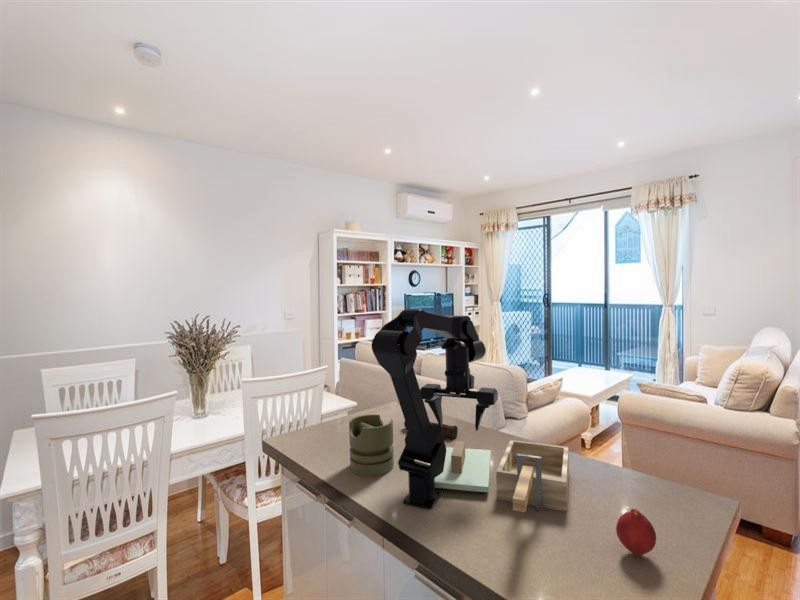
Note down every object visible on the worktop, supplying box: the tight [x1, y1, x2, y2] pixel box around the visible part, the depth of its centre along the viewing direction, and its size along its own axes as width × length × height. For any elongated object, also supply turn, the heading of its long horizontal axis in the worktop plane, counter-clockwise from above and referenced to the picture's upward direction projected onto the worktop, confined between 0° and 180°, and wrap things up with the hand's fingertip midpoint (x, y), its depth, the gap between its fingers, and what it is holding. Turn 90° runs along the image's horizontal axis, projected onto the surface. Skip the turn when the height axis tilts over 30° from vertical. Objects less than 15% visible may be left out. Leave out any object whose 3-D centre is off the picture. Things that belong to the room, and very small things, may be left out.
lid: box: [427, 440, 492, 493], centre depth 100 cm, size 21×15×6 cm
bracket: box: [517, 454, 543, 512], centre depth 83 cm, size 1×5×11 cm, turn 66°
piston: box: [348, 414, 395, 478], centre depth 105 cm, size 11×12×11 cm
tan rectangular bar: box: [512, 466, 533, 513], centre depth 75 cm, size 14×2×2 cm, turn 156°
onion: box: [615, 507, 657, 557], centre depth 68 cm, size 6×6×8 cm
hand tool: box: [403, 421, 459, 441], centre depth 130 cm, size 19×4×5 cm, turn 54°
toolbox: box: [495, 439, 570, 513], centre depth 93 cm, size 20×14×6 cm
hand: (458, 428), depth 101 cm, fingers open, 9 cm apart
